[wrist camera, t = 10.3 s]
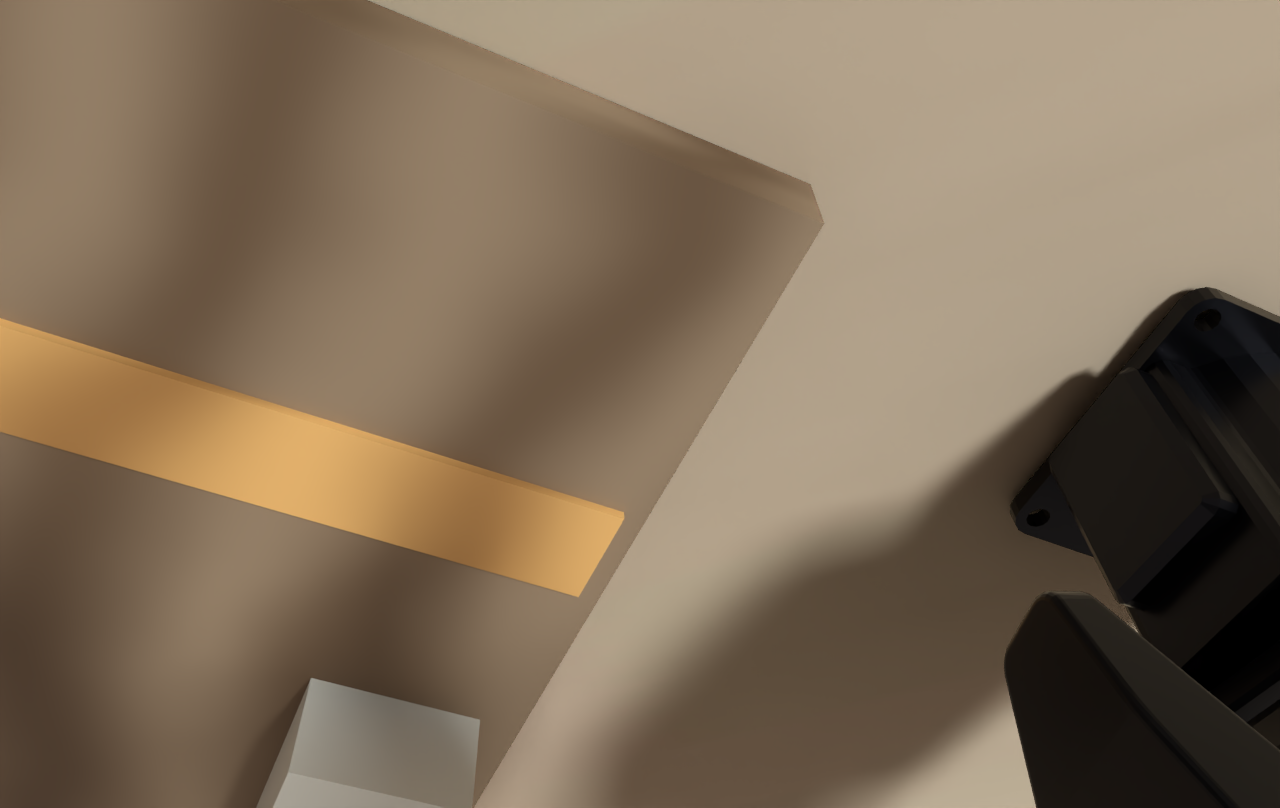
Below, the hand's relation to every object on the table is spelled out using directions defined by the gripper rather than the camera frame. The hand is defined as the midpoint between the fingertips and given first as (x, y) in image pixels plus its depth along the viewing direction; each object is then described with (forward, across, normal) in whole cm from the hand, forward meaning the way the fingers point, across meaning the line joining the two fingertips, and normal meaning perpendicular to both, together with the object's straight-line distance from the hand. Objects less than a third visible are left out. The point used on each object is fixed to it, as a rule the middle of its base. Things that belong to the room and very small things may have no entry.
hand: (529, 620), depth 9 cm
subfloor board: (+13, +6, +10) cm, 18 cm away
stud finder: (+10, +1, +19) cm, 21 cm away
